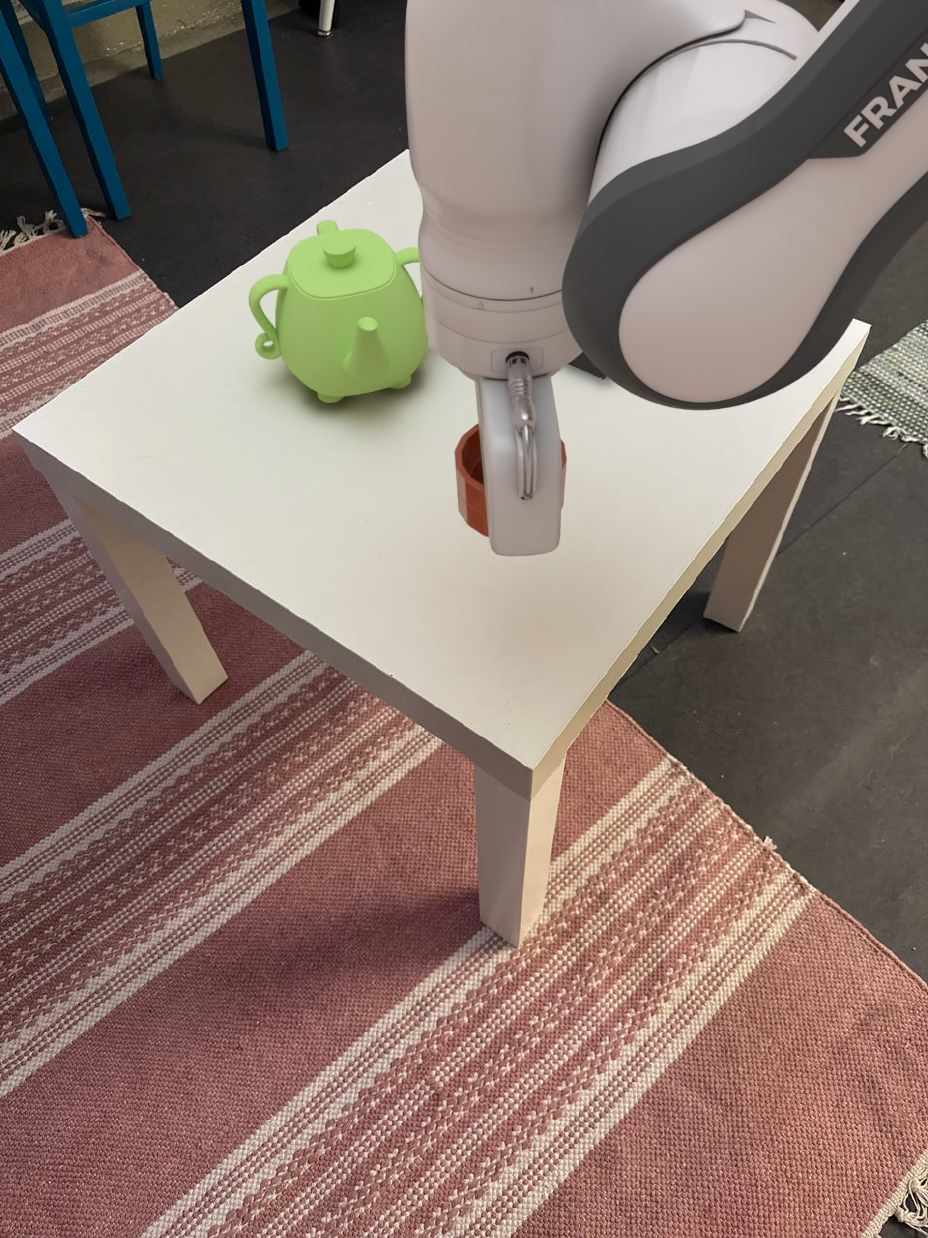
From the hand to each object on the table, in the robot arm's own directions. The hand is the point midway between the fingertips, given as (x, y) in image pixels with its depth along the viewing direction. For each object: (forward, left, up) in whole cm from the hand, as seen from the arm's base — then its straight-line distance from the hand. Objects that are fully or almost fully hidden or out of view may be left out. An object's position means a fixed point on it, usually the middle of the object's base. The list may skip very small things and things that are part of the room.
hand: (509, 485), depth 58 cm
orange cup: (0, 0, -2) cm, 2 cm away
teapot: (+11, -28, -14) cm, 33 cm away
